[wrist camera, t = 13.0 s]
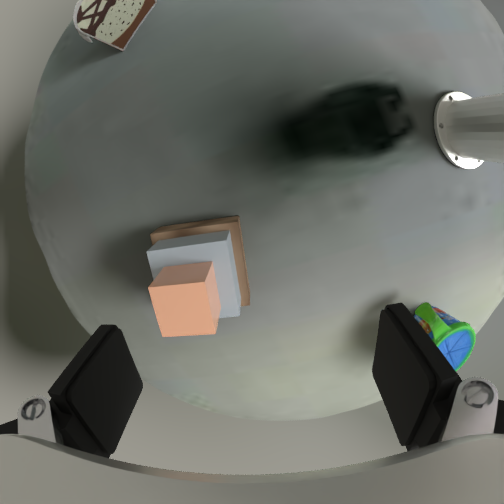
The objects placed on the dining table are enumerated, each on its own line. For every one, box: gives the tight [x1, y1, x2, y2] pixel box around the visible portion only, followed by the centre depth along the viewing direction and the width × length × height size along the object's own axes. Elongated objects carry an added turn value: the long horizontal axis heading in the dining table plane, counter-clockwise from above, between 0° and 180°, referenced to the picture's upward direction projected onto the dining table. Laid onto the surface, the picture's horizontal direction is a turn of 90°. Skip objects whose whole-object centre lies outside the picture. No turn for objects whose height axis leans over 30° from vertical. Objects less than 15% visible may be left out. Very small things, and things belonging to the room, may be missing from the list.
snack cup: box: [414, 302, 475, 371], centre depth 38 cm, size 16×10×10 cm
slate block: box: [147, 230, 241, 318], centre depth 34 cm, size 9×9×4 cm
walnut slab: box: [150, 216, 250, 306], centre depth 38 cm, size 11×11×4 cm
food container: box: [73, 0, 157, 51], centre depth 24 cm, size 12×6×10 cm, turn 152°
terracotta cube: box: [148, 261, 221, 337], centre depth 29 cm, size 6×6×6 cm
